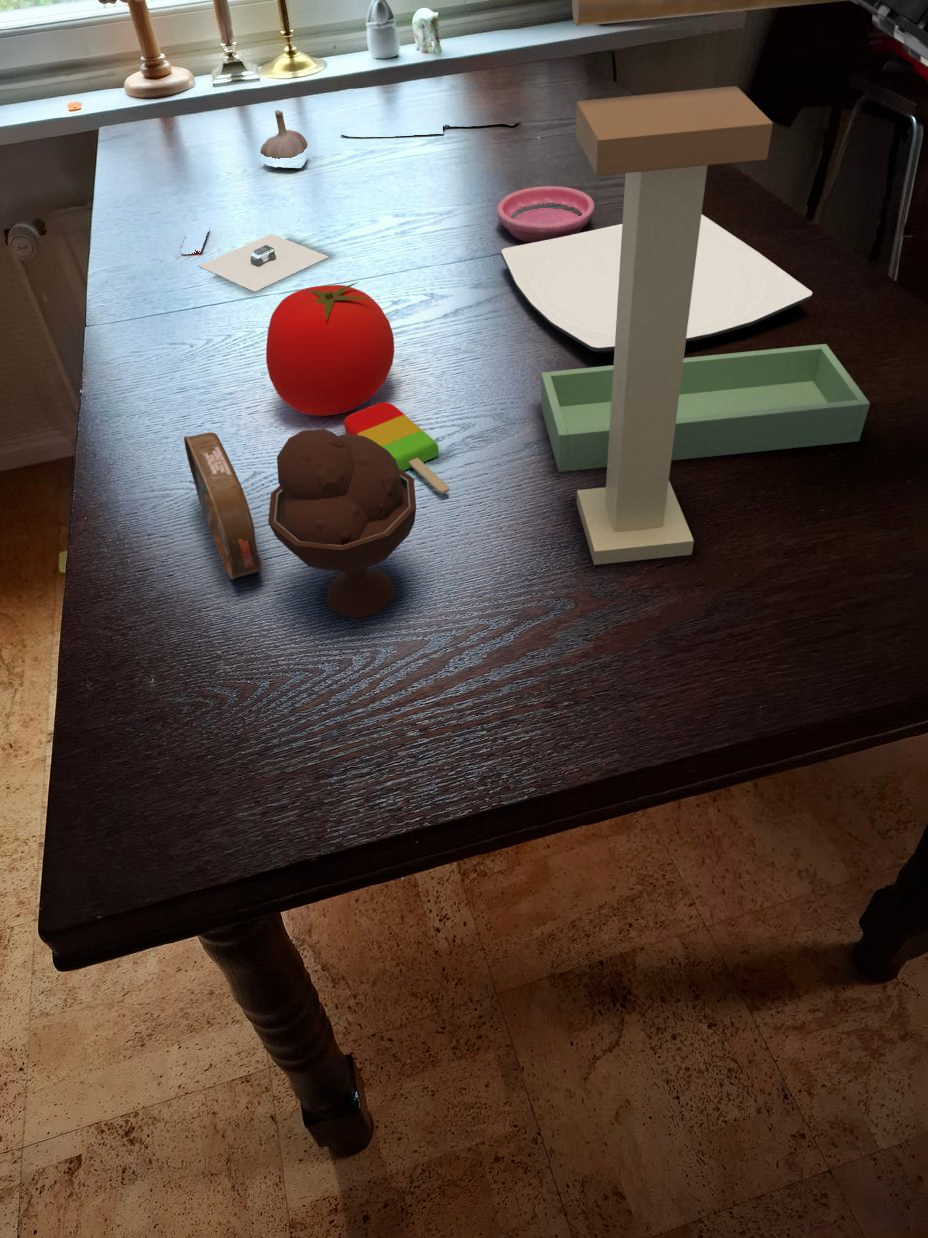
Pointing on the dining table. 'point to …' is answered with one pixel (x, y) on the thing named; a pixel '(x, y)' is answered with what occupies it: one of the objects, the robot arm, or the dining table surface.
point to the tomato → (328, 349)
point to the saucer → (545, 213)
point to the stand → (655, 295)
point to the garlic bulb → (284, 141)
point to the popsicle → (397, 439)
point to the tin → (223, 504)
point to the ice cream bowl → (343, 513)
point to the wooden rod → (666, 8)
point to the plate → (589, 279)
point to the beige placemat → (263, 262)
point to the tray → (716, 406)
